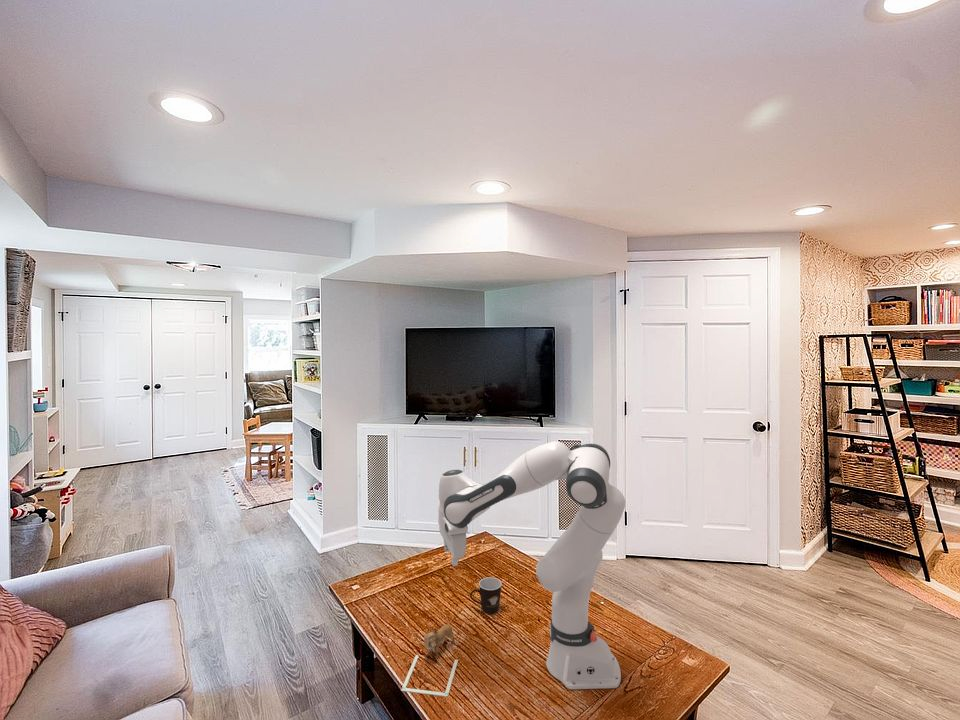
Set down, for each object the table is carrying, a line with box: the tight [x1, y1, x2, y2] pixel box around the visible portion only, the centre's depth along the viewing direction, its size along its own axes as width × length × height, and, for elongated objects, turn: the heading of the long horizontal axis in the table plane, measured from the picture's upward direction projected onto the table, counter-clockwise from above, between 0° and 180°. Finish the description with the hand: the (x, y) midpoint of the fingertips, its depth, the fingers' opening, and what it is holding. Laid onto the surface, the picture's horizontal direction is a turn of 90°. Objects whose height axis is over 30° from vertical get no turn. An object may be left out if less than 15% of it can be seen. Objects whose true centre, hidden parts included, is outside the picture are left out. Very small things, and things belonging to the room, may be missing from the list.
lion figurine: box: [423, 624, 456, 658], centre depth 148 cm, size 15×5×9 cm, turn 151°
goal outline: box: [400, 654, 459, 697], centre depth 138 cm, size 14×14×1 cm
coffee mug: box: [469, 576, 502, 615], centre depth 170 cm, size 12×9×10 cm
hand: (451, 557), depth 151 cm, fingers open, 8 cm apart
